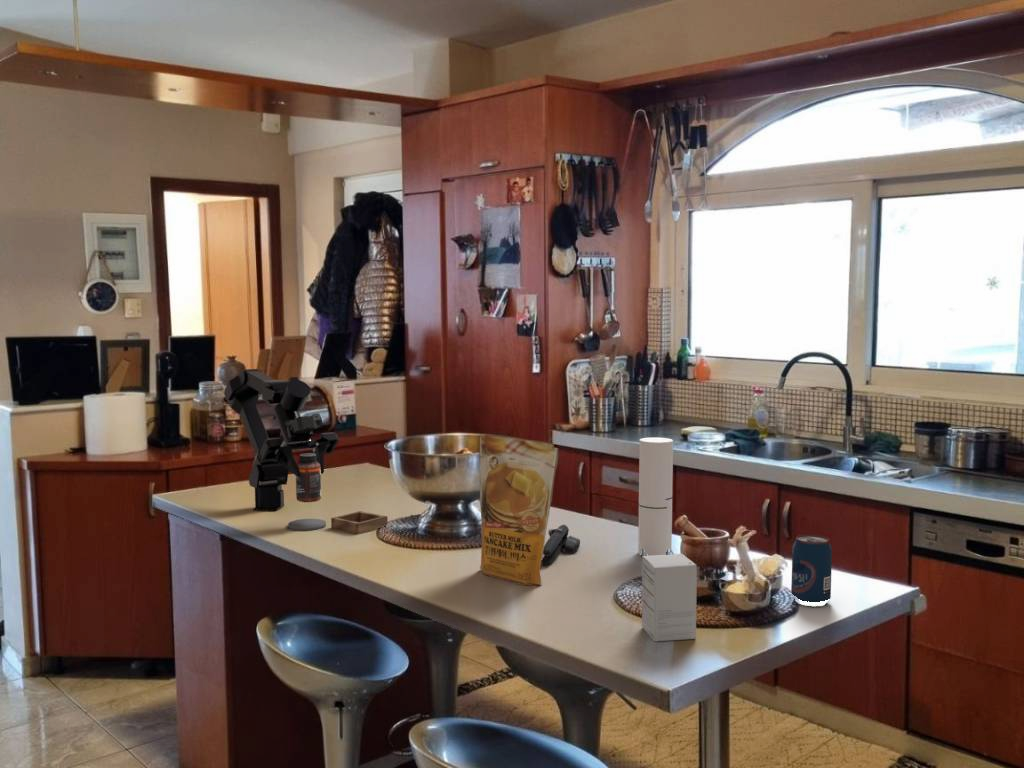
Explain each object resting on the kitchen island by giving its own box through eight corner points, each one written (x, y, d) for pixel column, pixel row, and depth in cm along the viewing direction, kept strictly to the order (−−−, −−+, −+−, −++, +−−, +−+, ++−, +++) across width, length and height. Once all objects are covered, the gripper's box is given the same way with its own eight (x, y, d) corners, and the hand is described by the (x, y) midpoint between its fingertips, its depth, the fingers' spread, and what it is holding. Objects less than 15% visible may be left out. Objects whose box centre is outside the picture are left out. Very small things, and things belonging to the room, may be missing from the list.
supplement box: (682, 624, 169) (683, 552, 167) (696, 640, 161) (698, 564, 160) (640, 627, 168) (641, 554, 166) (653, 642, 160) (654, 566, 159)
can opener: (553, 545, 222) (553, 521, 221) (583, 548, 220) (583, 523, 219) (527, 566, 205) (527, 539, 205) (559, 569, 203) (559, 542, 202)
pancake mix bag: (490, 564, 206) (489, 431, 203) (560, 582, 193) (561, 441, 191) (467, 571, 201) (466, 435, 198) (538, 590, 188) (539, 445, 186)
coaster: (283, 530, 235) (283, 526, 235) (295, 521, 244) (295, 518, 244) (319, 531, 234) (319, 527, 234) (330, 522, 243) (330, 519, 243)
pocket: (331, 528, 237) (331, 518, 237) (360, 520, 244) (360, 511, 244) (358, 534, 231) (358, 523, 231) (387, 526, 239) (387, 516, 238)
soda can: (783, 601, 181) (784, 537, 180) (806, 594, 185) (808, 531, 184) (815, 611, 176) (817, 545, 175) (838, 603, 180) (840, 539, 179)
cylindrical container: (678, 553, 214) (679, 440, 211) (657, 559, 209) (658, 443, 207) (652, 547, 219) (653, 436, 217) (631, 553, 214) (632, 439, 212)
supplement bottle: (325, 498, 240) (325, 453, 239) (312, 504, 235) (312, 457, 233) (304, 496, 242) (304, 451, 241) (291, 501, 237) (290, 455, 236)
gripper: (264, 405, 233) (284, 459, 226) (335, 400, 245) (356, 450, 237) (251, 433, 240) (270, 486, 233) (321, 427, 252) (341, 477, 244)
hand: (310, 474), depth 237 cm, fingers closed on supplement bottle, 6 cm apart
